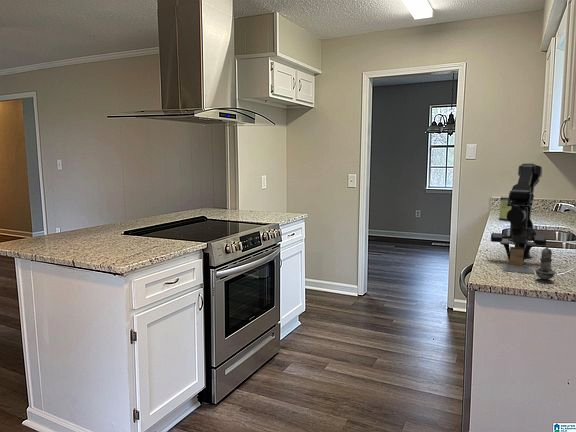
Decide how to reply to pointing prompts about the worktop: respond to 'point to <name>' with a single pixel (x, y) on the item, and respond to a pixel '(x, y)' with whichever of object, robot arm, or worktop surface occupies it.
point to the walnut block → (516, 255)
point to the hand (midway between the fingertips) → (515, 260)
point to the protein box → (504, 208)
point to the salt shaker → (545, 268)
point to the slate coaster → (518, 269)
